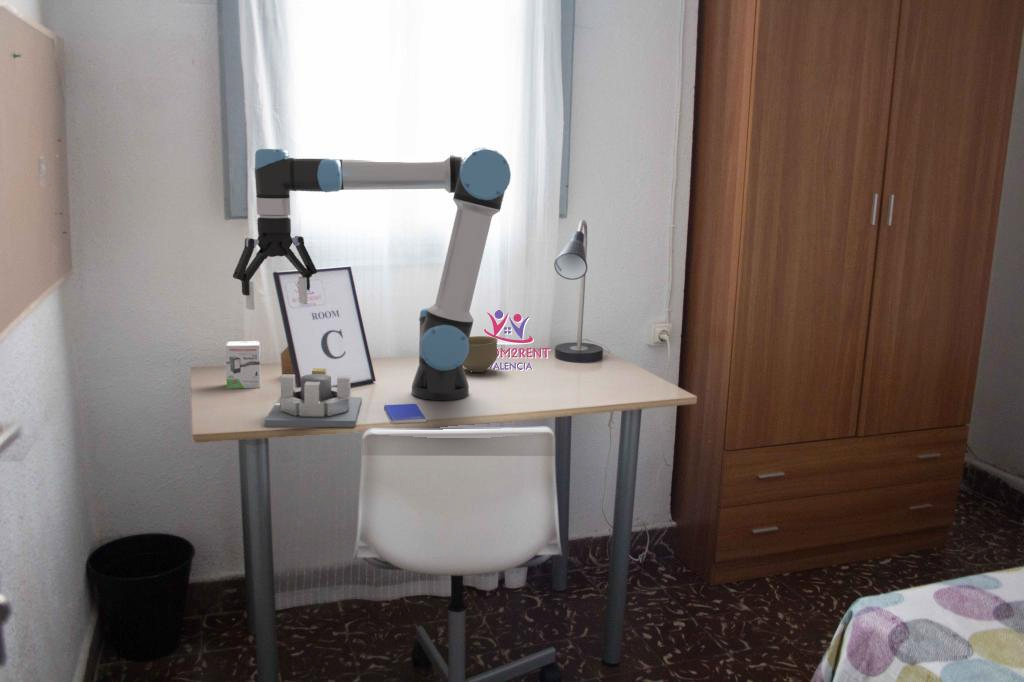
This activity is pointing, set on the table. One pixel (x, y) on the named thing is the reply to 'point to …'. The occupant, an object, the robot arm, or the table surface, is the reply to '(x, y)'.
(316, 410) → the ring nut
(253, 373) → the ink box
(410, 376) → the table surface
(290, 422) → the housing
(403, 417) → the hard drive
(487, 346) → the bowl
